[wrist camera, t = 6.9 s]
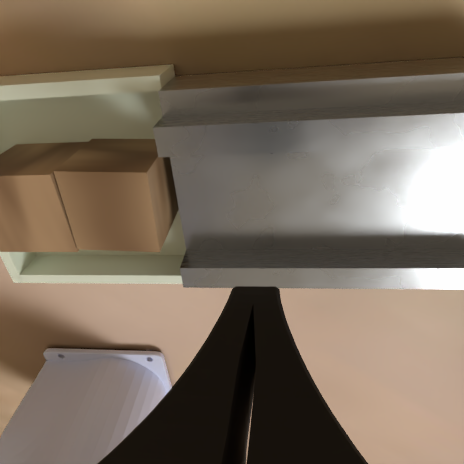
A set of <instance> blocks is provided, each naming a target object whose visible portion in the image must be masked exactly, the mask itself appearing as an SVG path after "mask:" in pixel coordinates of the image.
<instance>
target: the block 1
mask: <svg viewBox="0 0 464 464" xmlns="http://www.w3.org/2000/svg"><path fill="white" fill-rule="evenodd" d="M87 143H88V142H66V143H38V144H16V145H14V146H13V147H11V148H10V149H8V150H6V151H5V152H3V153H2V154H0V252H78V251H79V249H77V246H76V243H75V240H74V236H73V233H72V230H71V227H70V223H69V220H68V217H67V214H66V210H65V207H64V204H63V201H62V197H61V194H60V191H59V188H58V184H57V181H56V178H55V175H54V170H56V169H57V168H58V167H59V166H60V165H62V164H63V163H64V162H65V161H66V160H68V159H69V158H70V157H71V156H72V155H73V154H75V153H76V152H77V151H78V150H79V149H81V148H82V147H83V146H84V145H85V144H87Z"/></svg>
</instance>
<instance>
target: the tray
mask: <svg viewBox="0 0 464 464" xmlns="http://www.w3.org/2000/svg"><path fill="white" fill-rule="evenodd" d="M174 76H175V72H174V65H173V64H170V65H156V66H141V67H127V68H112V69H98V70H83V71H69V72H54V73H40V74H25V75H11V76H0V154H2V153H3V152H5V151H6V150H8V149H10V148H11V147H13V146H14V145H16V144H38V143H66V142H89V141H90V140H91V139H155V137H154V132H153V127H154V126H155V125H156V123H157V122H158V121H159V120H160V119H161V118H162V110H161V104H160V99H159V93H158V91H159V90H160V89H161V88H162V87H163V86H164V85H166V84H167V83H168V82H169V81H170V80H171V79H172V78H173V77H174ZM178 208H179V206H178ZM185 252H186V246H185V240H184V235H183V229H182V223H181V218H180V212H179V210H178V212H177V214H176V217H175V219H174V221H173V224H172V226H171V228H170V230H169V233H168V235H167V237H166V240H165V242H164V244H163V246H162V249H161V251H160V252H136V251H108V250H80V249H79V251H78V252H0V256H1V258H2V260H3V262H4V264H5V266H6V268H7V270H8V272H9V274H10V276H11V278H12V280H13V282H14V283H115V284H183V282H182V277H181V272H180V266H181V263H182V261H183V258H184V255H185Z"/></svg>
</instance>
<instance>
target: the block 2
mask: <svg viewBox="0 0 464 464" xmlns="http://www.w3.org/2000/svg"><path fill="white" fill-rule="evenodd" d="M54 175H55V178H56V181H57V184H58V188H59V191H60V194H61V197H62V201H63V204H64V207H65V210H66V214H67V217H68V220H69V223H70V227H71V230H72V233H73V236H74V240H75V243H76V246H77V249H80V250H108V251H136V252H160V251H161V249H162V246H163V244H164V242H165V240H166V237H167V235H168V233H169V230H170V228H171V226H172V224H173V221H174V219H175V217H176V214H177V212H178V210H179V208H178V201H177V195H176V189H175V184H174V178H173V172H172V167H171V161H170V157H158V153H157V147H156V142H155V139H91V140H90V141H89V142H88V143H87V144H85V145H84V146H83V147H82V148H81V149H79V150H78V151H77V152H76V153H75V154H73V155H72V156H71V157H70V158H69V159H68V160H66V161H65V162H64V163H63V164H62V165H60V166H59V167H58V168H57V169H56V170H54Z"/></svg>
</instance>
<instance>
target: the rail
mask: <svg viewBox="0 0 464 464" xmlns="http://www.w3.org/2000/svg"><path fill="white" fill-rule="evenodd" d="M158 93H159V99H160V104H161V110H162V118H161V119H160V120H159V121H158V122H157V123H156V125H155V126H154V127H153V132H154V137H155V142H156V147H157V153H158V157H170V161H171V167H172V172H173V178H174V184H175V189H176V195H177V201H178V206H179V212H180V218H181V223H182V229H183V235H184V240H185V246H186V252H185V255H184V258H183V261H182V263H181V266H180V272H181V277H182V282H183V287H200V288H234V287H236V286H276V287H277V288H334V289H464V57H457V58H442V59H427V60H411V61H396V62H380V63H365V64H350V65H334V66H319V67H303V68H288V69H273V70H257V71H242V72H226V73H211V74H196V75H180V76H174V77H173V78H172V79H171V80H170V81H169V82H168V83H167V84H166V85H164V86H163V87H162V88H161V89H160V90H159V91H158Z"/></svg>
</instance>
